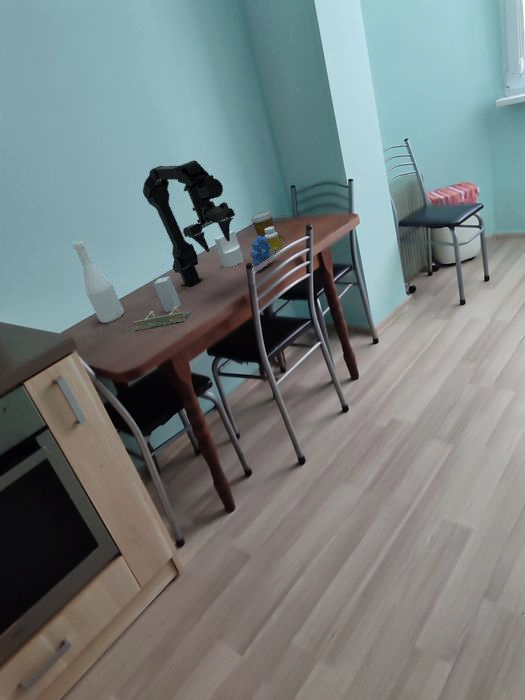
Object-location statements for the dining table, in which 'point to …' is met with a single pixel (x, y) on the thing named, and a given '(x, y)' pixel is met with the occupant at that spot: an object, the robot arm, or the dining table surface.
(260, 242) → the grapes
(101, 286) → the wine bottle
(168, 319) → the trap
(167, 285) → the grey block
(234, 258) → the cylinder with rectangular tab
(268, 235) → the supplement bottle
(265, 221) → the disposable coffee cup
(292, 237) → the dining table surface
